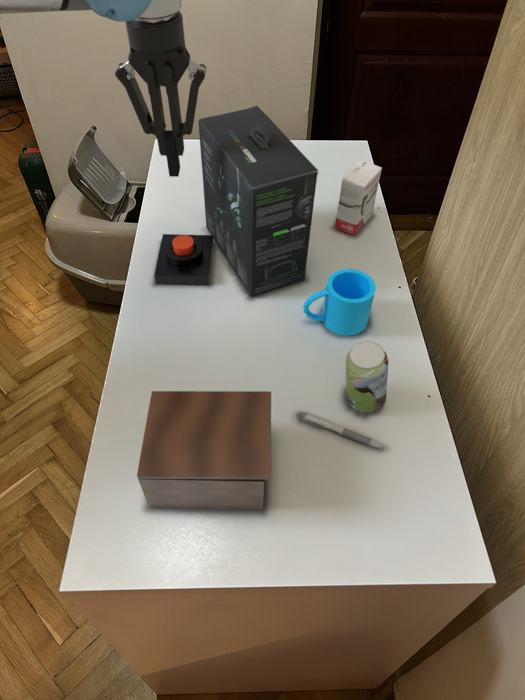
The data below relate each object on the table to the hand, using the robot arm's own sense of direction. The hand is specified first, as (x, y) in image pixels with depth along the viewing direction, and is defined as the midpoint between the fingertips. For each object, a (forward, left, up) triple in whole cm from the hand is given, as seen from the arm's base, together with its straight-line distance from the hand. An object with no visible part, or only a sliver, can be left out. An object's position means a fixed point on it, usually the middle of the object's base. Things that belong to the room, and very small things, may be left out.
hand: (174, 171), depth 88 cm
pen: (+27, -37, -20) cm, 50 cm away
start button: (0, 0, -16) cm, 16 cm away
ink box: (+34, +14, -20) cm, 42 cm away
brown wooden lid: (+8, -43, -11) cm, 45 cm away
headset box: (+13, +3, -20) cm, 24 cm away
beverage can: (+31, -31, -20) cm, 48 cm away
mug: (+28, -14, -20) cm, 37 cm away
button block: (0, 0, -20) cm, 20 cm away
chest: (+8, -43, -20) cm, 48 cm away
